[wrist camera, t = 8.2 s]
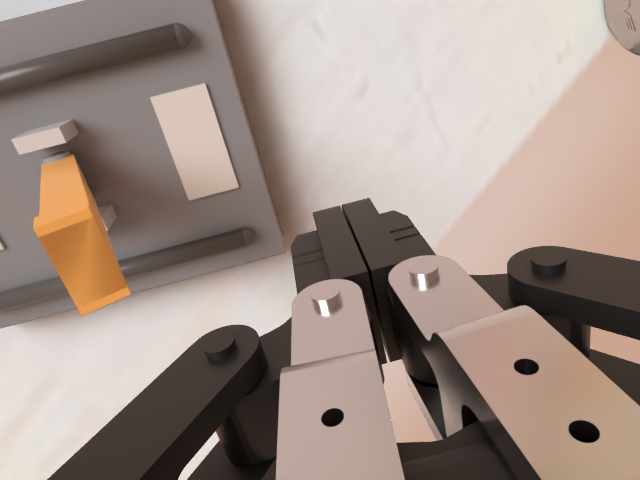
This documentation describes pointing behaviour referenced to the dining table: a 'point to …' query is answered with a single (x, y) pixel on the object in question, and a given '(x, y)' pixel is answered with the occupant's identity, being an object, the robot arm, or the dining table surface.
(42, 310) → the breaker panel
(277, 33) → the dining table surface
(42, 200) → the breaker lever
